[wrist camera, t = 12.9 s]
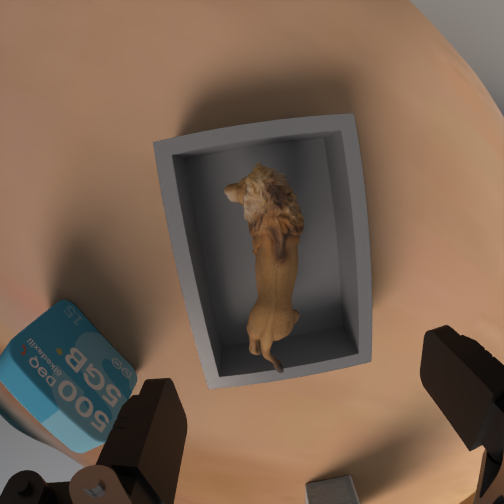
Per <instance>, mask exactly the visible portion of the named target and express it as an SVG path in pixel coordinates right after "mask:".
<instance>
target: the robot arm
mask: <svg viewBox="0 0 504 504" xmlns="http://www.w3.org/2000/svg"><path fill="white" fill-rule="evenodd" d="M420 378H421V381H422V384H423V386H424V388H425V389H426V390H427V392H428V393H429V395H430V396H431V397H432V399H433V400H434V401H435V403H436V404H437V405H438V407H439V408H440V410H441V411H442V412H443V414H444V415H445V417H446V418H447V419H448V421H449V422H450V424H451V425H452V426H453V428H454V429H455V431H456V432H457V434H458V435H459V437H460V438H461V439H462V441H463V442H464V444H465V445H466V447H467V448H468V450H469V451H472V450H474V449H476V448H477V447H479V446H481V445H483V446H484V448H485V451H484V453H483V456H482V462H481V468H480V474H479V479H478V484H477V489H476V494H475V498H474V502H473V504H504V365H503V364H502V363H501V362H500V361H498V360H497V359H496V358H495V357H492V354H491V353H489V352H488V351H487V350H485V348H484V347H483V346H481V345H480V344H479V343H478V342H477V341H476V340H473V339H471V338H469V337H466V336H464V335H461V336H460V335H459V334H458V333H457V332H456V331H455V330H454V329H452V328H451V327H450V326H448V325H445V326H442V327H438V328H435V329H432V330H429V331H427V332H426V333H425V335H424V342H423V350H422V358H421V366H420ZM186 435H187V418H186V414H185V412H184V409H183V407H182V404H181V402H180V399H179V396H178V394H177V391H176V389H175V386H174V384H173V381H172V380H171V379H170V378H161V379H147V380H145V382H144V384H143V386H142V389H141V391H140V393H139V395H133V396H132V397H131V398H130V399H128V400H127V401H126V402H125V403H124V404H123V405H122V407H121V409H120V411H119V414H118V416H117V420H115V422H114V424H113V429H111V431H110V433H109V435H108V438H107V440H106V442H105V444H104V447H103V449H102V451H101V453H100V456H99V458H98V460H97V463H96V465H92V466H88V467H85V468H83V469H81V470H79V471H78V472H77V473H76V474H75V475H74V476H73V477H72V479H71V481H69V482H55V483H46V482H45V481H44V479H43V478H42V477H41V476H40V475H39V474H38V473H36V472H34V471H30V470H25V471H21V472H18V473H16V474H15V475H13V476H12V477H11V478H10V479H9V480H8V482H7V484H6V486H5V488H4V490H3V492H2V494H1V496H0V504H174V498H175V493H176V487H177V482H178V476H179V471H180V466H181V460H182V455H183V450H184V445H185V440H186Z"/></svg>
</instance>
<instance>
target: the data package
mask: <svg viewBox="0 0 504 504" xmlns="http://www.w3.org/2000/svg"><path fill="white" fill-rule="evenodd" d="M0 381H1V382H2V383H3V385H4V386H5V387H6V388H7V389H8V390H9V391H10V392H11V393H12V395H13V396H14V397H15V398H16V399H17V400H18V401H19V402H20V403H21V404H22V405H23V406H24V407H25V408H26V409H27V410H28V411H29V412H30V413H31V414H32V415H33V416H34V417H35V418H36V419H37V420H38V421H39V422H40V423H41V424H42V425H43V426H44V427H45V428H46V429H48V430H49V431H50V432H51V433H52V434H53V435H54V436H55V437H56V438H58V439H59V440H60V441H61V442H62V443H63V444H65V445H66V446H67V447H68V448H69V449H71V450H72V451H74V452H77V453H85V452H87V451H89V450H91V449H93V448H95V447H98V446H100V445H102V444H104V443H105V442H106V440H107V438H108V435H109V433H110V431H111V429H113V424H114V422H115V420H117V416H118V414H119V411H120V409H121V407H122V405H123V404H124V403H125V402H126V401H127V400H128V399H129V397H130V395H131V393H132V391H133V389H134V387H135V385H136V382H137V374H136V372H135V370H134V368H133V367H132V365H131V364H130V363H129V362H128V361H127V360H126V359H125V358H124V357H123V356H122V355H121V354H120V353H119V352H118V351H117V350H116V349H115V348H114V347H113V346H112V345H111V344H110V343H109V342H108V341H107V340H106V339H105V338H104V337H103V336H102V335H101V334H100V333H99V331H98V330H97V329H96V328H95V327H94V326H93V325H92V324H91V323H90V322H89V320H88V319H87V318H86V317H85V316H84V315H83V314H82V312H81V311H80V310H79V309H78V308H77V307H76V305H74V304H73V303H72V302H70V301H68V300H60V301H59V302H57V303H56V304H55V305H54V306H52V307H51V308H50V309H48V310H47V311H46V312H45V313H43V314H42V315H41V316H40V317H38V318H37V319H36V320H35V321H33V322H32V323H31V324H30V325H28V326H27V327H26V328H25V329H23V330H22V331H21V332H20V333H19V334H17V335H16V336H15V337H14V338H13V339H12V340H11V341H10V342H9V344H8V345H7V347H6V348H5V349H4V351H3V352H2V354H1V355H0Z"/></svg>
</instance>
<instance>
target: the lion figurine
mask: <svg viewBox="0 0 504 504" xmlns="http://www.w3.org/2000/svg"><path fill="white" fill-rule="evenodd" d="M224 192H225V195H227V197H228V199H229V200H230V201H231V202H237V203H238V204H240V205H242V206H243V208H244V218H245V220H247V221H248V227H249V233H250V234H251V236H252V245H253V248H254V250H253V254H254V256H255V257H256V262H255V276H256V285H257V292H258V298H257V301H256V303H255V305H254V306H253V308H252V310H251V311H250V314H249V320H248V323H247V332H248V334H249V339H250V344H249V350H250V352H251V353H252V354H254V355H260V354H261V352H262V355H263V356H264V358H265V359H267V360H269V361H270V362H272V363H273V364H274V368H275V369H276V370H277V372H278V373H280V374H281V373H283V372H284V370H283V367H282V364H281V362H280V361H279V360H278V359H277V358H276V357H274V356H273V355H272V354H271V353H270V349H271V346H272V343H273V341H278V340H280V339H282V338H284V337H286V336H287V335H288V334H289V333H290V332H291V331H292V329H293V327H294V324H295V323H296V322H297V320H298V319H299V313H298V311H297V310H295V309H292V294H293V290H294V285H295V280H296V275H297V271H298V248H297V246H298V244H299V242H300V235H301V234H302V232H303V229H304V220H303V218H304V217H303V215H302V214H301V208H300V206H299V205H298V203H297V196H296V194H295V193H293V190H292V188H291V187H290V183H289V182H288V180H287V179H286V176H285V174H283V173H279V172H278V171H277V170H276V169H274V168H270V167H265V166H263V165H262V164H261V163H259V162H257V163H256V166H255V167H254V168H253V169H252V172H251V173H249V174H248V176H247V177H244V178H243V179H242V180H241V181H240V182H239V183H232V184H228V185H227V186H226V187H225V189H224ZM259 339H260V340H259Z"/></svg>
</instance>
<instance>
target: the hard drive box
mask: <svg viewBox="0 0 504 504" xmlns="http://www.w3.org/2000/svg"><path fill="white" fill-rule="evenodd" d="M305 504H360V501H359V498H358V495H357V492H356V489H355V486H354V483H353V480H352V477H351V475H347V476H342V477H338V478H333V479H328V480H323V481H318V482H312V483H307V484H305Z"/></svg>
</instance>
